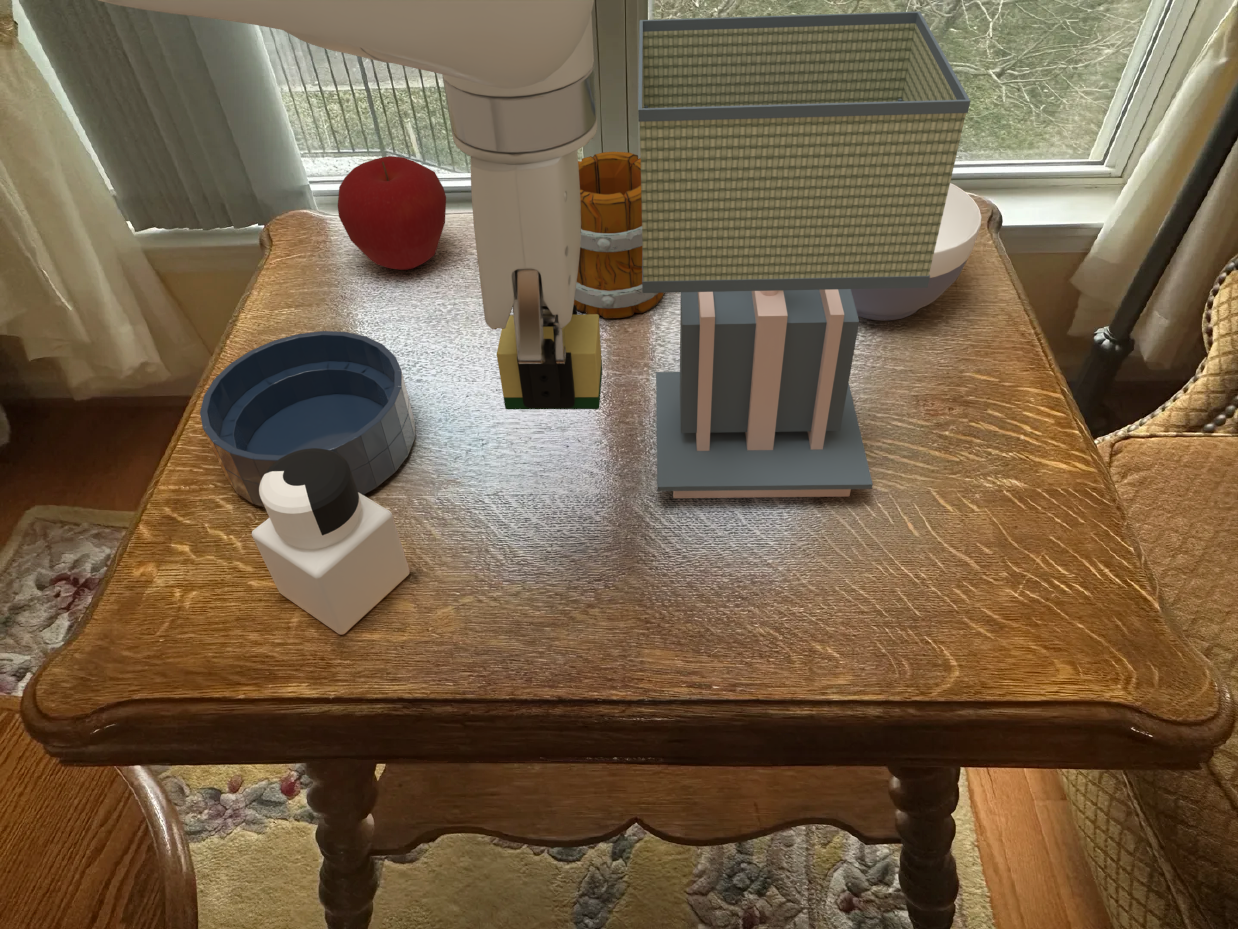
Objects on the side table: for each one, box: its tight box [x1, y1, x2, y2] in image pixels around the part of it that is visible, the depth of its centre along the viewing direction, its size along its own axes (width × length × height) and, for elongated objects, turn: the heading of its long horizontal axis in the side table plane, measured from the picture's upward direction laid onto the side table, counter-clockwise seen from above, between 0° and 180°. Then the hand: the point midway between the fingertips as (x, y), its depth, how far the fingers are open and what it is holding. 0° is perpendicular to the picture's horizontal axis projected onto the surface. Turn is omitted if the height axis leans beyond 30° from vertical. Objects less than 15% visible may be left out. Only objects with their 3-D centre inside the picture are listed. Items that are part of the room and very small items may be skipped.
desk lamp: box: [637, 10, 971, 499], centre depth 68 cm, size 18×14×33 cm
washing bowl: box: [199, 330, 416, 508], centre depth 80 cm, size 16×16×6 cm
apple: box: [337, 155, 447, 271], centre depth 98 cm, size 11×11×12 cm
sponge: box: [496, 313, 603, 410], centre depth 60 cm, size 6×4×4 cm, turn 88°
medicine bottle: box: [251, 448, 411, 636], centre depth 67 cm, size 7×7×12 cm
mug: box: [574, 151, 665, 319], centre depth 91 cm, size 11×16×15 cm, turn 113°
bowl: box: [851, 182, 982, 322], centre depth 92 cm, size 16×16×10 cm
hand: (552, 378), depth 60 cm, fingers closed on sponge, 4 cm apart
